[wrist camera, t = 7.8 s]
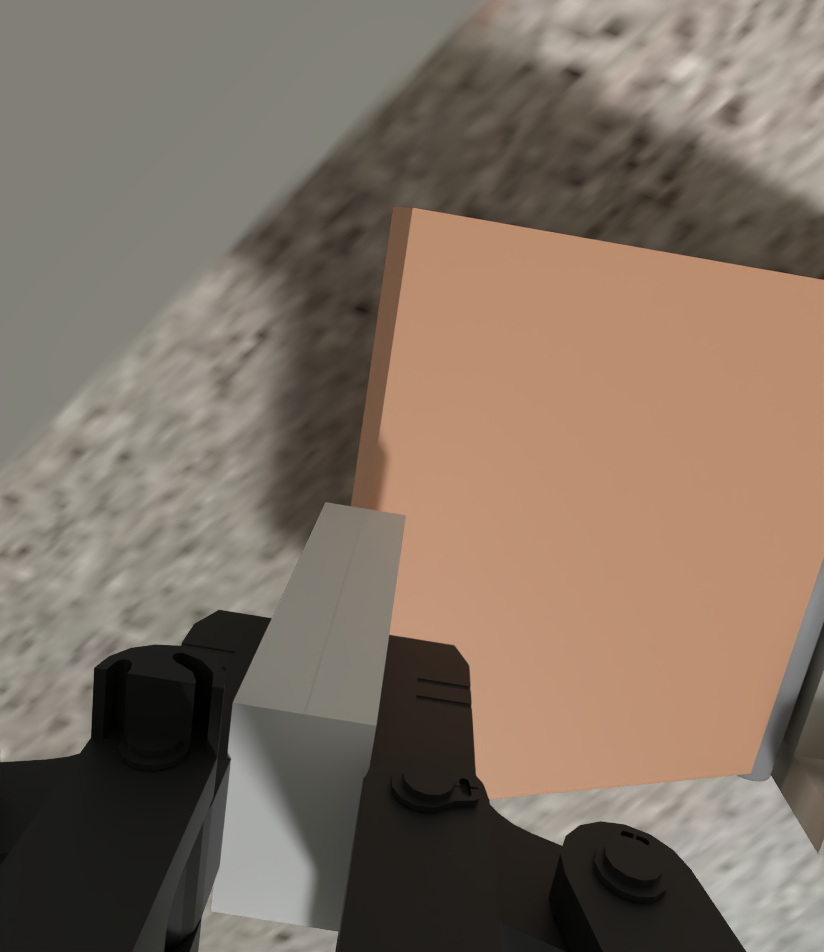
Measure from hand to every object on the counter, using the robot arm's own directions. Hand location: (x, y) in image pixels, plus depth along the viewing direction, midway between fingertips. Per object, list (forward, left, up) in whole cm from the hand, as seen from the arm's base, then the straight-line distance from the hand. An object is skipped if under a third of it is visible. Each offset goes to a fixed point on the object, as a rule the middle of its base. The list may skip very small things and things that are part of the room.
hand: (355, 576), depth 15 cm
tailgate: (+11, 0, -6) cm, 13 cm away
